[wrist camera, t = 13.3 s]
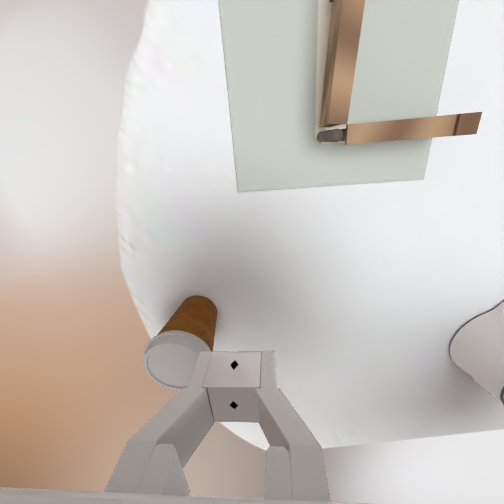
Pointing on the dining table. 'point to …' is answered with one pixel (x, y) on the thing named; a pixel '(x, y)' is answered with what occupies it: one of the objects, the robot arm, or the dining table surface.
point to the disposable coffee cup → (181, 343)
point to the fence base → (404, 129)
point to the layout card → (311, 89)
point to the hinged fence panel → (341, 61)
